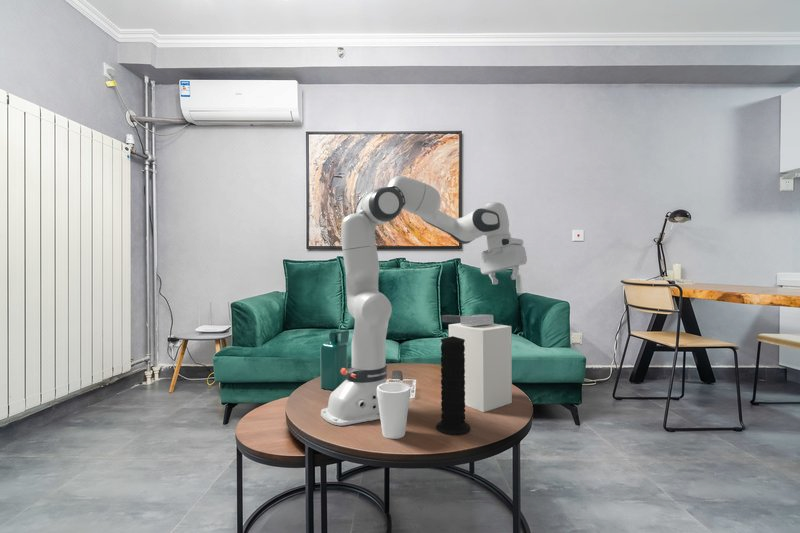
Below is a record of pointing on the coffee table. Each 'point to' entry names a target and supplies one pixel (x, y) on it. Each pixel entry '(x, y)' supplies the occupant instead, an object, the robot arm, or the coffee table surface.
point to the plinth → (486, 364)
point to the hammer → (469, 319)
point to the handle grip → (453, 387)
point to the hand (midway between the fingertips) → (504, 281)
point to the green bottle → (333, 359)
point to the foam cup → (393, 408)
